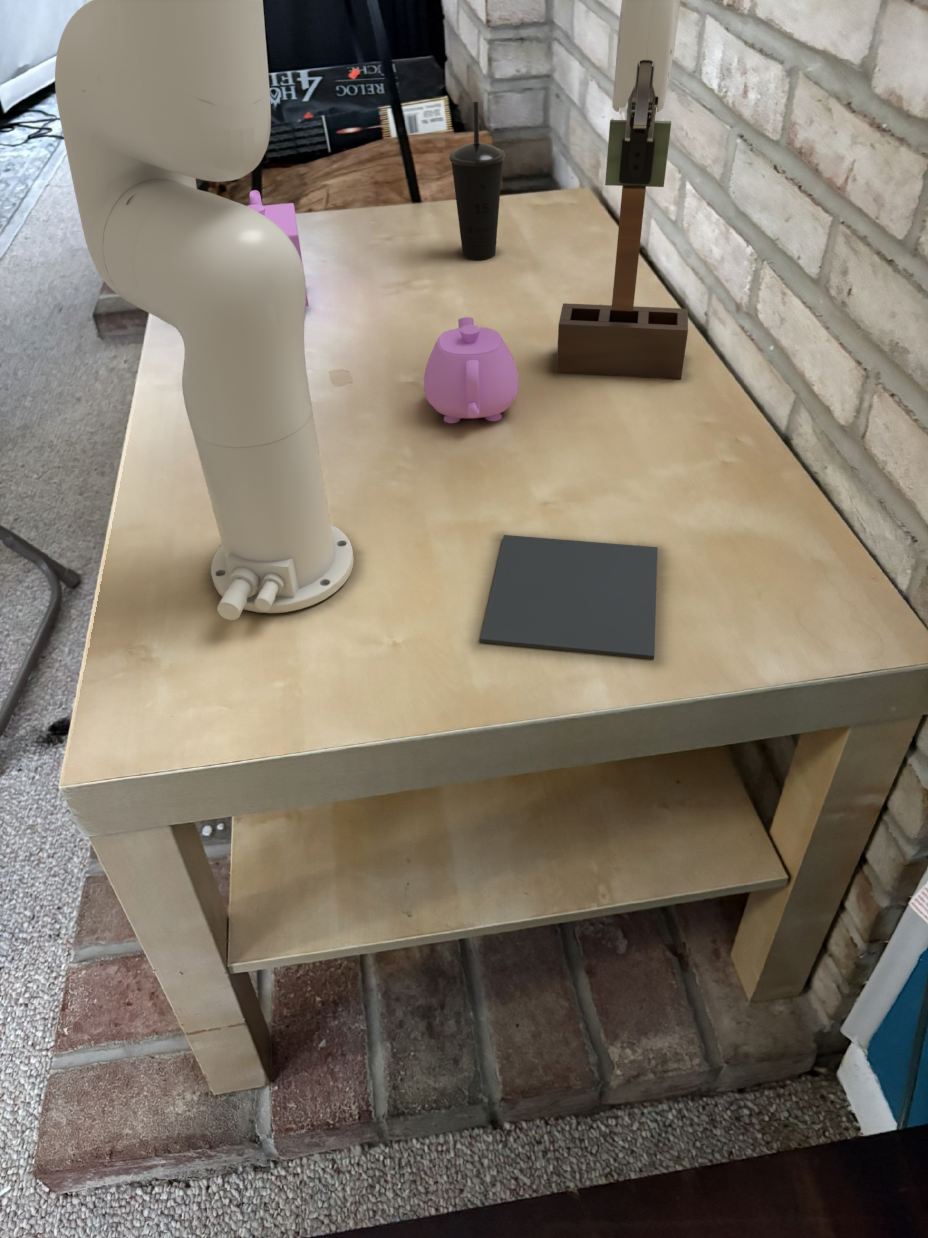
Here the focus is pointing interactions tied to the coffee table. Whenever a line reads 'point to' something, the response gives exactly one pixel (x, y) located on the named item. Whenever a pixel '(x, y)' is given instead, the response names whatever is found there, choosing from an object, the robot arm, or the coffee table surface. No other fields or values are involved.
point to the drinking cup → (477, 194)
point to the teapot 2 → (470, 374)
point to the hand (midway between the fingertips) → (634, 179)
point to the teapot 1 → (279, 219)
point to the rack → (622, 341)
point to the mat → (573, 597)
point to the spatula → (632, 208)
